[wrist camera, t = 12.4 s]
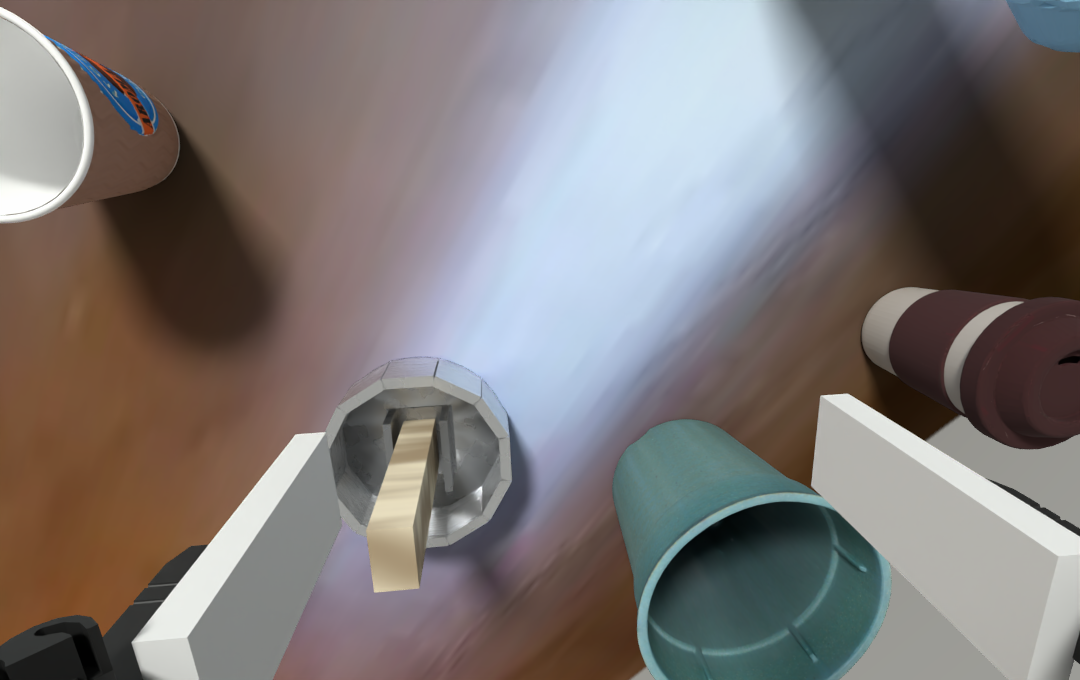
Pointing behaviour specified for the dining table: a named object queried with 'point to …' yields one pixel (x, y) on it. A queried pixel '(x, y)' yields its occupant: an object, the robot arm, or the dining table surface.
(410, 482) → the cream rectangular wooden bar
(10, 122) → the coffee cup
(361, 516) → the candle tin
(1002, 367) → the coffee cup
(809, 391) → the dining table surface
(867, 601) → the flower pot
